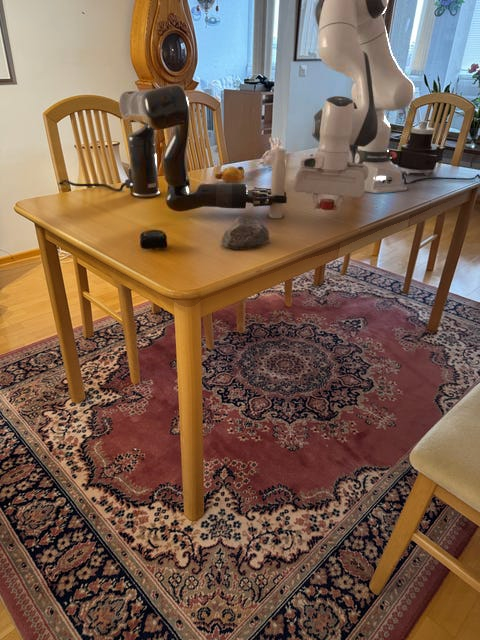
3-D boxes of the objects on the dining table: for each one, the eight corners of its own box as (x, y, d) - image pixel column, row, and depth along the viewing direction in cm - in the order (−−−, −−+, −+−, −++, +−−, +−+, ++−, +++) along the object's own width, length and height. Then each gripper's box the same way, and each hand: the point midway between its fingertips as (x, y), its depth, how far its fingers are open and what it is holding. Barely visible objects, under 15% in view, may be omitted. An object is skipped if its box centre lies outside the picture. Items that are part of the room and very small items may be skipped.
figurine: (286, 165, 210) (288, 136, 203) (269, 171, 199) (270, 140, 193) (271, 163, 214) (272, 134, 207) (253, 168, 203) (254, 138, 196)
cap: (331, 206, 137) (333, 198, 136) (335, 210, 133) (336, 202, 132) (318, 206, 137) (319, 198, 135) (321, 210, 133) (322, 202, 132)
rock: (255, 233, 128) (256, 211, 124) (276, 242, 122) (278, 219, 119) (217, 244, 120) (217, 220, 117) (239, 254, 115) (239, 230, 111)
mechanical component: (390, 120, 192) (418, 115, 212) (381, 171, 203) (408, 162, 223) (441, 125, 180) (466, 119, 200) (429, 179, 191) (453, 169, 211)
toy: (212, 175, 175) (219, 166, 187) (218, 191, 178) (224, 181, 190) (239, 166, 171) (244, 157, 184) (245, 182, 174) (249, 173, 187)
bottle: (285, 217, 143) (290, 149, 133) (274, 219, 141) (279, 150, 131) (276, 213, 146) (281, 147, 136) (266, 215, 144) (270, 148, 134)
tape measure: (140, 252, 115) (139, 238, 113) (141, 242, 120) (140, 229, 119) (167, 251, 116) (166, 237, 114) (167, 241, 121) (166, 228, 120)
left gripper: (230, 189, 133) (288, 191, 132) (232, 178, 145) (285, 179, 145) (229, 214, 136) (286, 216, 136) (232, 201, 149) (284, 203, 148)
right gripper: (370, 162, 128) (362, 210, 135) (299, 156, 133) (295, 203, 140) (369, 166, 123) (361, 216, 130) (295, 160, 128) (291, 208, 135)
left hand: (285, 197), depth 140 cm, fingers closed on bottle, 4 cm apart
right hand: (326, 209), depth 135 cm, fingers closed on cap, 4 cm apart
